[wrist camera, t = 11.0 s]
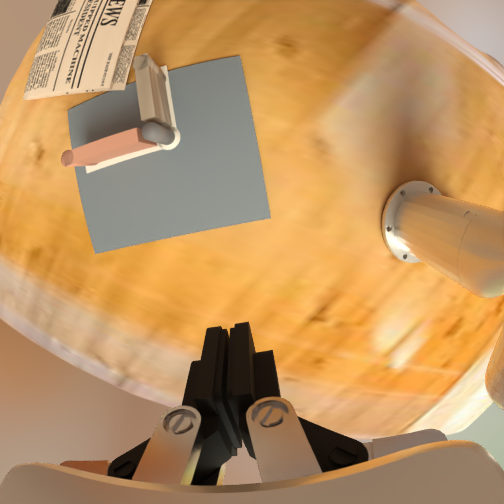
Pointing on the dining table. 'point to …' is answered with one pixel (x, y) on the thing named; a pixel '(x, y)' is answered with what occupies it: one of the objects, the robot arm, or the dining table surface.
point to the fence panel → (118, 145)
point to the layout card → (173, 160)
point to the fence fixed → (151, 91)
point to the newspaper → (86, 47)
